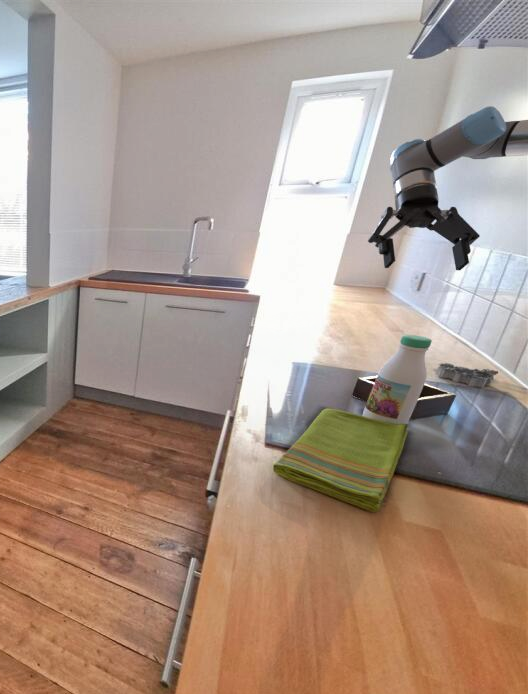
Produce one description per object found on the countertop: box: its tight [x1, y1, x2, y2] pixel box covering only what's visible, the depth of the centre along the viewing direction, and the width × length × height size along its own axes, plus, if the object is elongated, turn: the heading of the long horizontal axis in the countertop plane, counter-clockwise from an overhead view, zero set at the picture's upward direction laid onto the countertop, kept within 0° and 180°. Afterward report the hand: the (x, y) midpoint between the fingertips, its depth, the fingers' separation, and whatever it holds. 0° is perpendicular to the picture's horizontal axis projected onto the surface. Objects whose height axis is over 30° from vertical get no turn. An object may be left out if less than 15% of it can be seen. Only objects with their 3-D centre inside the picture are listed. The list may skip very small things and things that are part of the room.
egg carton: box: [435, 362, 499, 389], centre depth 115 cm, size 11×8×4 cm
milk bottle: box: [361, 334, 433, 424], centre depth 89 cm, size 8×8×20 cm
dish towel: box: [272, 407, 409, 513], centre depth 80 cm, size 15×36×3 cm, turn 133°
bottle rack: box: [351, 375, 457, 421], centre depth 100 cm, size 13×12×5 cm
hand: (425, 265), depth 95 cm, fingers open, 13 cm apart
